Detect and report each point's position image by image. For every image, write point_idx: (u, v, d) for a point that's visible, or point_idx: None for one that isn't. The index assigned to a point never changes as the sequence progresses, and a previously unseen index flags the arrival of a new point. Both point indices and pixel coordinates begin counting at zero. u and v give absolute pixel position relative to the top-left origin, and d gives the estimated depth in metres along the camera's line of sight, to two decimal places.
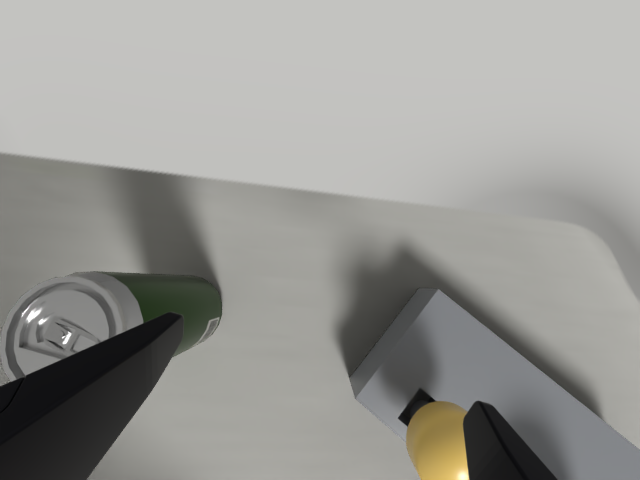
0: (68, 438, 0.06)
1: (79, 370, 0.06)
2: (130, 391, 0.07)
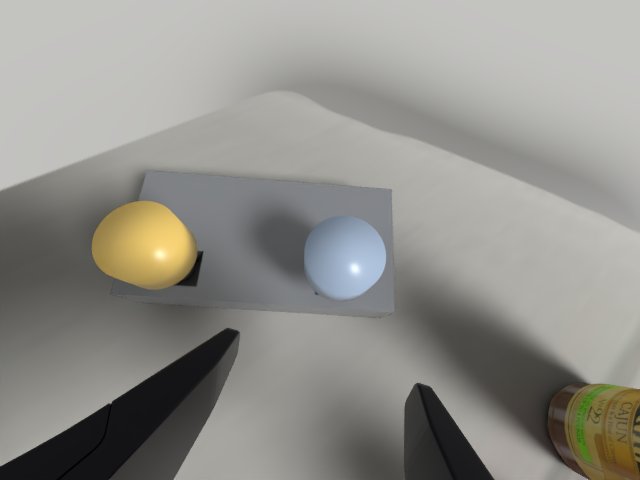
0: (153, 465, 0.06)
1: (161, 395, 0.06)
2: (199, 412, 0.07)
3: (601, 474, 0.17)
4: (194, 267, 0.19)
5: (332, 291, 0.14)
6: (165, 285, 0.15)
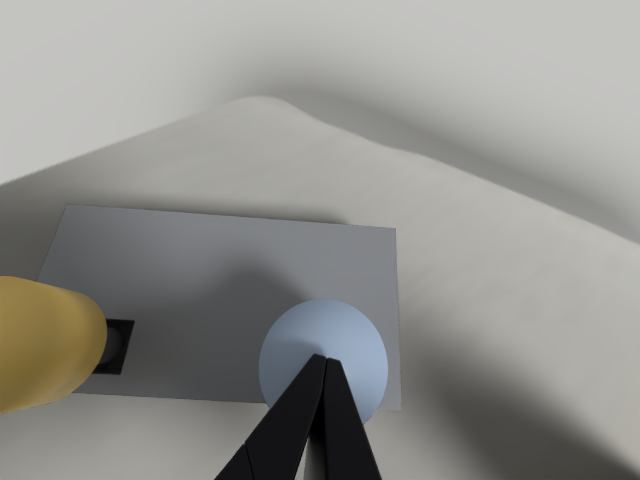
0: None
1: (286, 433, 0.06)
2: None
3: None
4: (120, 345, 0.14)
5: None
6: (46, 403, 0.10)
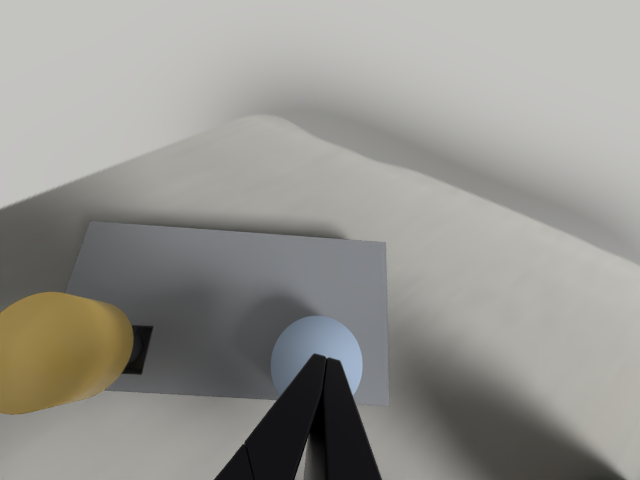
0: None
1: (286, 433, 0.06)
2: None
3: None
4: (140, 348, 0.16)
5: None
6: (85, 398, 0.12)
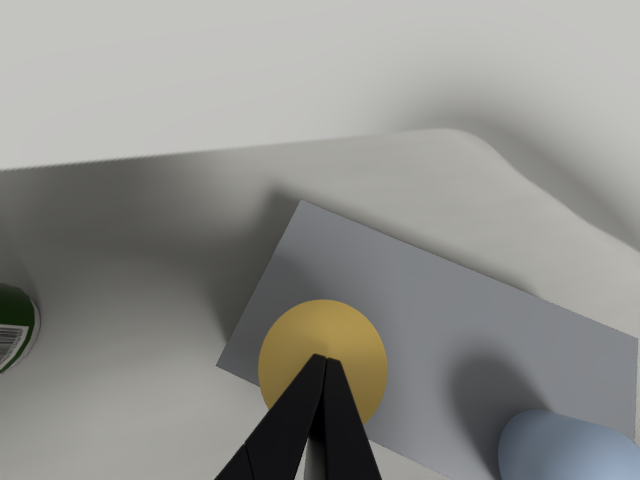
0: None
1: (286, 433, 0.06)
2: None
3: None
4: None
5: None
6: None
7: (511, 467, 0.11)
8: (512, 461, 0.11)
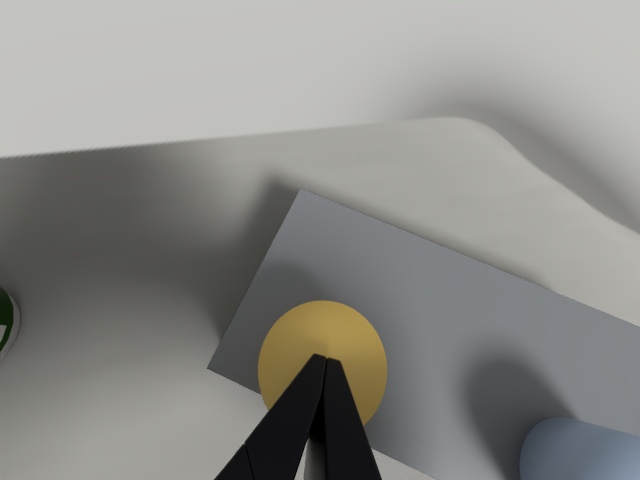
0: None
1: (286, 433, 0.06)
2: None
3: None
4: None
5: None
6: None
7: None
8: (537, 476, 0.10)
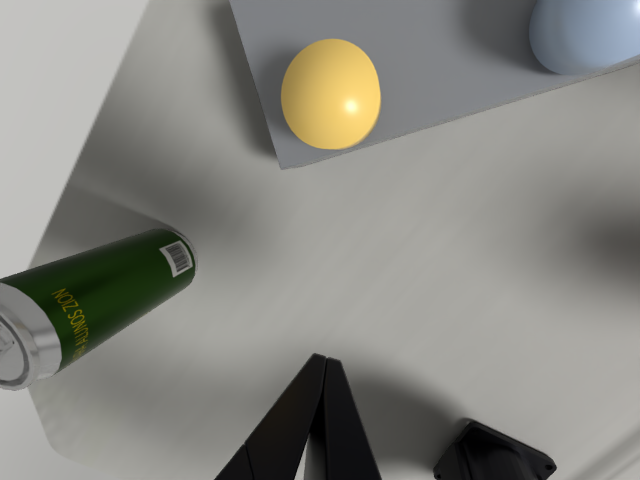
0: None
1: (286, 433, 0.06)
2: None
3: None
4: None
5: (621, 56, 0.09)
6: (364, 138, 0.14)
7: (542, 45, 0.11)
8: (541, 39, 0.11)
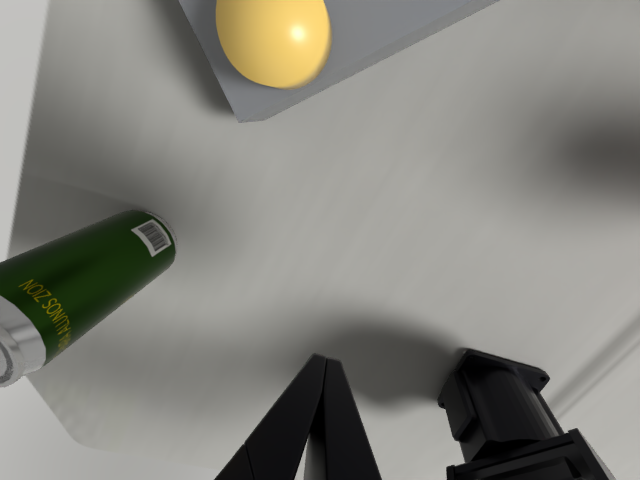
0: None
1: (286, 433, 0.06)
2: None
3: None
4: None
5: None
6: (319, 71, 0.13)
7: None
8: None
